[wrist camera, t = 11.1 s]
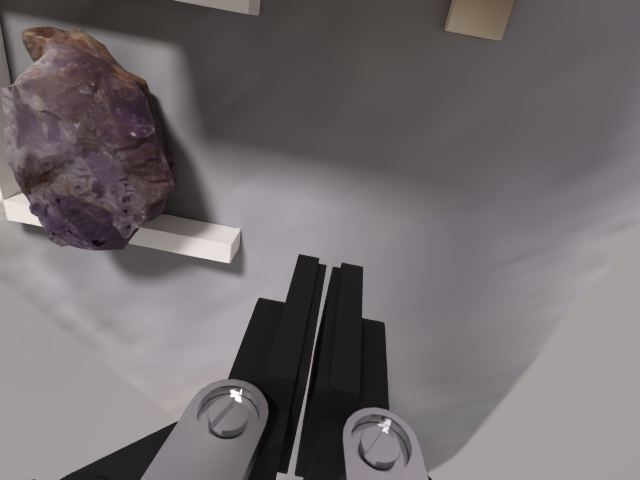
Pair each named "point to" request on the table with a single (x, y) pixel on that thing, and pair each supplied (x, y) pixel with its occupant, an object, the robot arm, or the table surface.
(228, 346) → the table surface
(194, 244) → the corral
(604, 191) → the table surface
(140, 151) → the rock
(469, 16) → the shelf
